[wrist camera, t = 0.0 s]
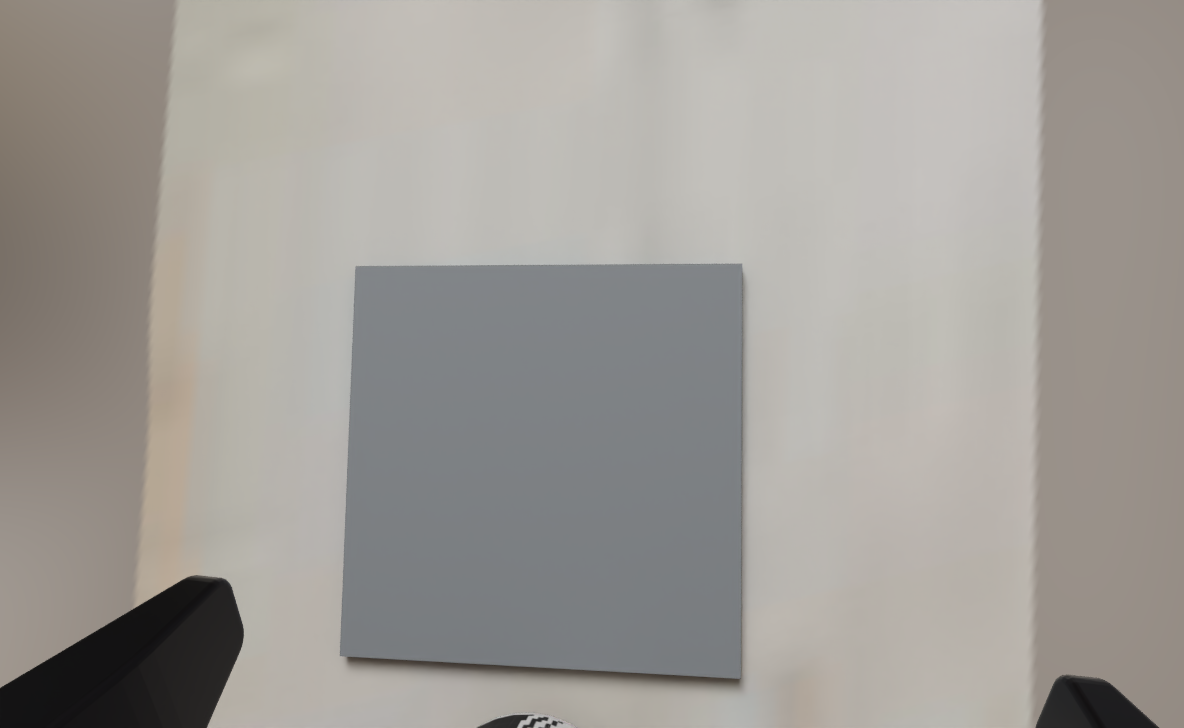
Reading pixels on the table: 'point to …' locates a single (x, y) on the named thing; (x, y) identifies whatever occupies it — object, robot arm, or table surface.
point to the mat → (546, 467)
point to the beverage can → (526, 721)
